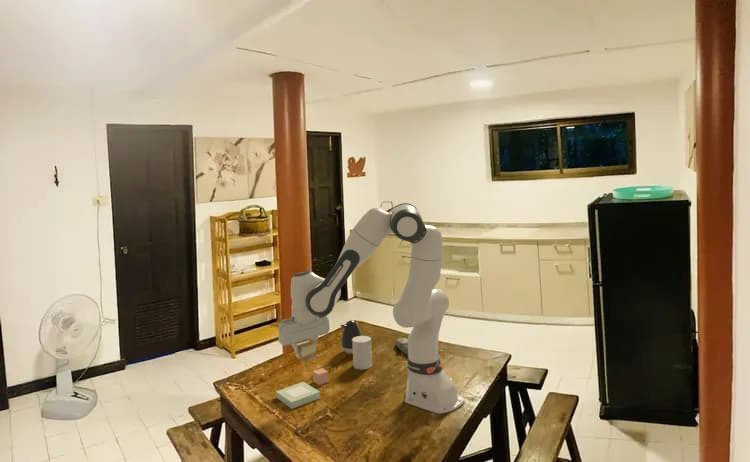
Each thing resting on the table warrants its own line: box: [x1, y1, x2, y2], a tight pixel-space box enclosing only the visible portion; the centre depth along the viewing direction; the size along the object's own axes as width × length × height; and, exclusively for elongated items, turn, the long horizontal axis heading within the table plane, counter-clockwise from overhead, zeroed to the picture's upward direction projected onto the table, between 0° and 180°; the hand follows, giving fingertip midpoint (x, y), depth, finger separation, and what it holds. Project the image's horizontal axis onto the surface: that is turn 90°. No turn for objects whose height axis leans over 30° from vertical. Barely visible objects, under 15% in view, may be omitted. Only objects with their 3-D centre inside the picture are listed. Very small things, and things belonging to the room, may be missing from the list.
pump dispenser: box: [340, 319, 363, 355], centre depth 225 cm, size 10×10×15 cm
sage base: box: [275, 381, 321, 410], centre depth 182 cm, size 12×12×3 cm
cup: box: [352, 335, 373, 370], centre depth 209 cm, size 8×8×12 cm
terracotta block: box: [312, 367, 330, 386], centre depth 195 cm, size 4×4×4 cm
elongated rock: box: [394, 337, 408, 356], centre depth 219 cm, size 35×5×10 cm
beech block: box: [295, 339, 318, 362], centre depth 180 cm, size 6×6×5 cm
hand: (305, 350), depth 180 cm, fingers closed on beech block, 5 cm apart
